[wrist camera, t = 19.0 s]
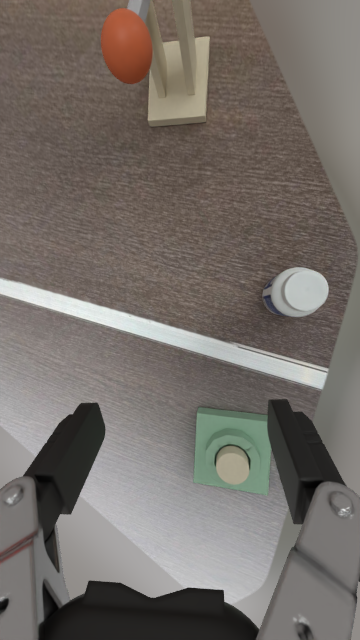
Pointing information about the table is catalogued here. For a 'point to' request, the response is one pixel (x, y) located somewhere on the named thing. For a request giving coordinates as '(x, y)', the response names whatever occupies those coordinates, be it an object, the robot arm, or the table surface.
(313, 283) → the pill bottle
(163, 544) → the table surface
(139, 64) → the lever
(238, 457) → the button
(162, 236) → the table surface
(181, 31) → the bracket
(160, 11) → the table surface
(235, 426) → the button block
